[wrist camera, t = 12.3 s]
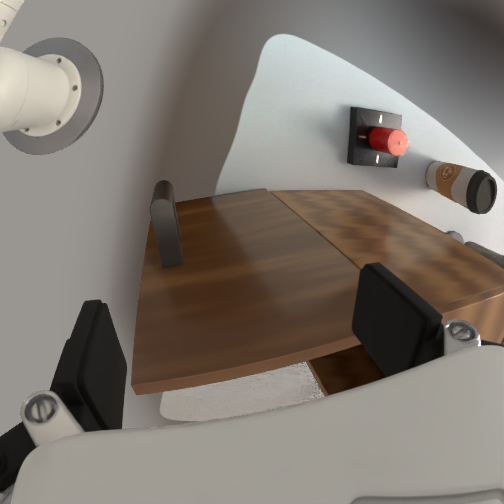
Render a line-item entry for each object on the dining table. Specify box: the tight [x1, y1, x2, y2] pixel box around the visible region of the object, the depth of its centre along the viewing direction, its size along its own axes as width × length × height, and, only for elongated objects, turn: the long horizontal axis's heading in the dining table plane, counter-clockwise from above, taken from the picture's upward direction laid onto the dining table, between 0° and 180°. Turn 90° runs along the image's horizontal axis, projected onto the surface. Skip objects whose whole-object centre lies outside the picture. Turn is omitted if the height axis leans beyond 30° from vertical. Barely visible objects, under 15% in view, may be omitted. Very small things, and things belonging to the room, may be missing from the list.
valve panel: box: [347, 107, 402, 168], centre depth 50 cm, size 10×10×2 cm
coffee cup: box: [426, 161, 497, 214], centre depth 51 cm, size 8×8×15 cm
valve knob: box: [369, 127, 409, 156], centre depth 47 cm, size 4×4×6 cm
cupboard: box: [270, 190, 504, 396], centre depth 41 cm, size 18×18×36 cm
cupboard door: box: [131, 180, 361, 395], centre depth 32 cm, size 8×18×36 cm, turn 95°
